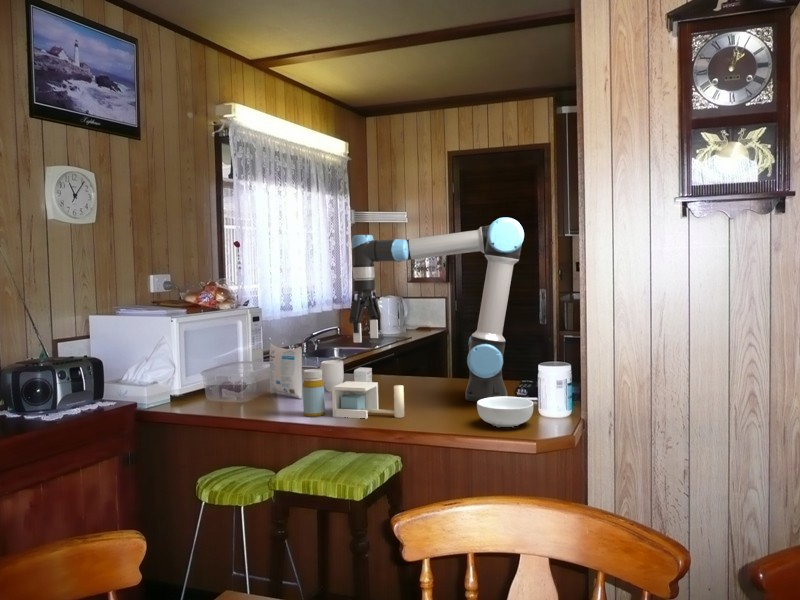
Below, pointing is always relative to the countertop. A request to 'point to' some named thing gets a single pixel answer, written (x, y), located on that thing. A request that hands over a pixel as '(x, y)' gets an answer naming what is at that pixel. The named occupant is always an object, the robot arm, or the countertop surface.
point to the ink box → (363, 375)
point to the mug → (332, 373)
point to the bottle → (313, 393)
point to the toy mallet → (359, 404)
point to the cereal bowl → (505, 410)
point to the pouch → (286, 370)
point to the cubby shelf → (355, 388)
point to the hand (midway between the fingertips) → (366, 340)
